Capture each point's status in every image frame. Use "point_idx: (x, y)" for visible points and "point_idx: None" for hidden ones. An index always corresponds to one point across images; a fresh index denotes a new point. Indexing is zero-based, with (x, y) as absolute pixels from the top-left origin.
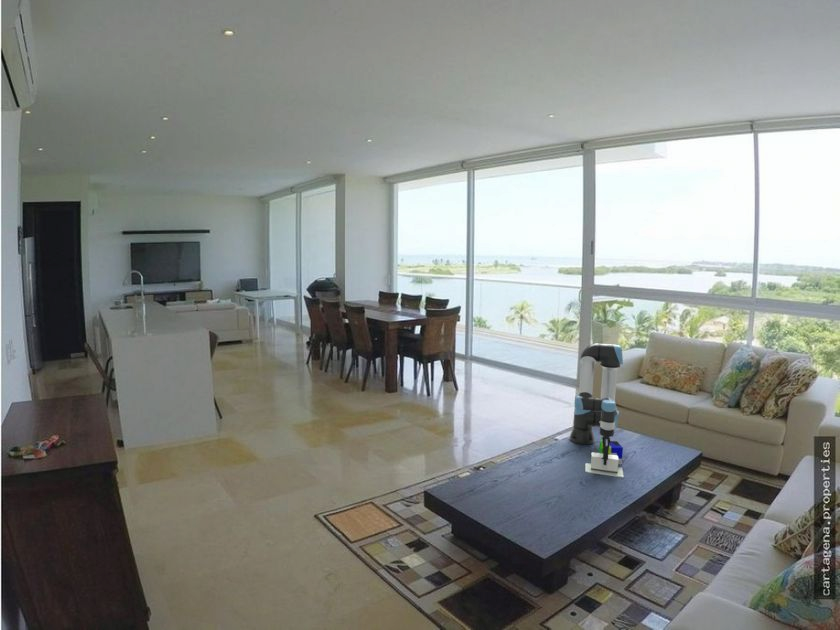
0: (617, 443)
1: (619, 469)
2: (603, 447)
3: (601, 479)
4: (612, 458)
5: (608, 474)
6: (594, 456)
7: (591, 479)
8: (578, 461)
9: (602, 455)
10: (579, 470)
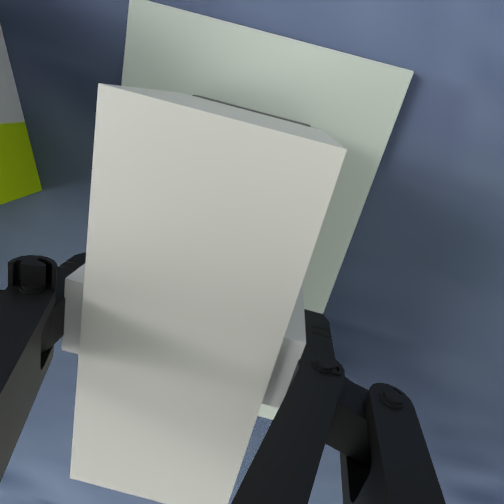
0: None
1: (184, 54)
2: (4, 467)
3: (437, 335)
4: (277, 258)
5: (340, 242)
6: (224, 494)
7: (429, 413)
8: (65, 404)
9: (161, 382)
10: (249, 445)
